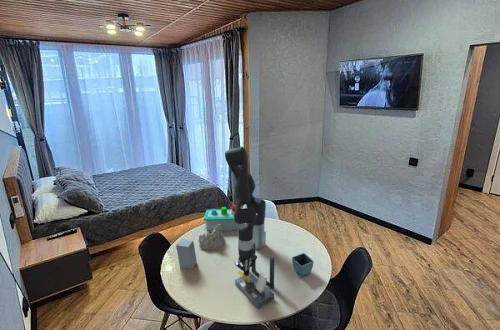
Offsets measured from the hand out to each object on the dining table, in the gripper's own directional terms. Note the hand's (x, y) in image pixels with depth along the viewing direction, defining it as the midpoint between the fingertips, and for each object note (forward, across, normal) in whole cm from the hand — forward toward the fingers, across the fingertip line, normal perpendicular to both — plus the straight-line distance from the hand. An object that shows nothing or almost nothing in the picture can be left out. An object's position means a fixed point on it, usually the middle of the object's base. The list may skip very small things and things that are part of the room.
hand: (246, 274), depth 137 cm
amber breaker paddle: (+4, -1, 0) cm, 4 cm away
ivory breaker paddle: (+4, -2, +9) cm, 10 cm away
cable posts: (+8, -10, 0) cm, 13 cm away
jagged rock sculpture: (+8, -5, -48) cm, 49 cm away
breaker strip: (+8, -2, +4) cm, 9 cm away
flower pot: (+8, -32, +9) cm, 34 cm away
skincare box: (+8, +18, -36) cm, 41 cm away
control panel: (+8, -23, -61) cm, 65 cm away
